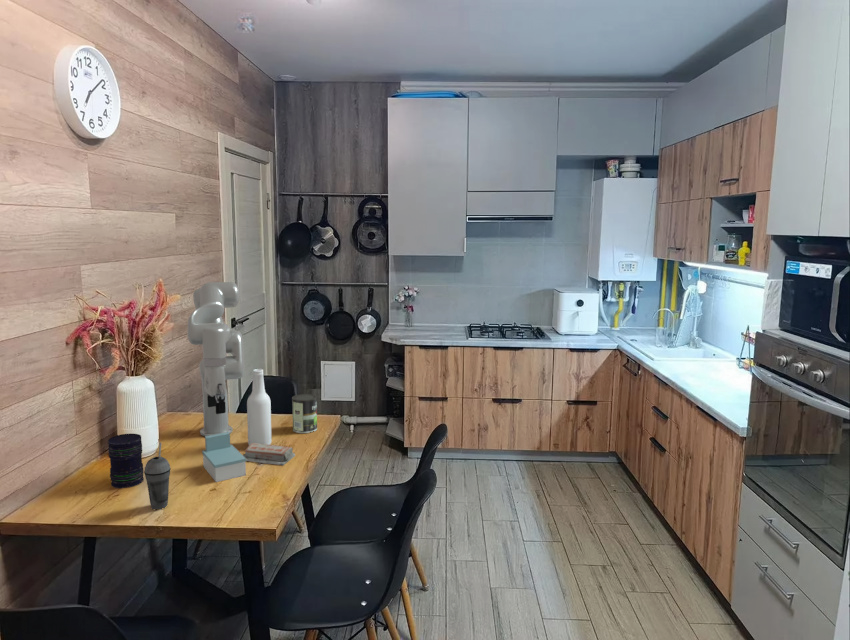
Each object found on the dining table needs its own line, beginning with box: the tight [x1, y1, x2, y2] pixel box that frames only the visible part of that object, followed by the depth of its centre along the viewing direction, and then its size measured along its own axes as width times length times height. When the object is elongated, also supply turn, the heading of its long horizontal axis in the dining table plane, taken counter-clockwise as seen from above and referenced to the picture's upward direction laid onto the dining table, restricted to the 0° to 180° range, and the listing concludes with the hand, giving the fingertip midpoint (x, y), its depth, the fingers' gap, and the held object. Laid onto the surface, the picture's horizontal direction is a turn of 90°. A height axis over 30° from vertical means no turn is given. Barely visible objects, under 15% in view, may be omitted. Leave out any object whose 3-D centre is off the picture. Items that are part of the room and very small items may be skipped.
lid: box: [201, 432, 247, 468], centre depth 200 cm, size 15×10×6 cm
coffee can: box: [291, 393, 318, 434], centre depth 244 cm, size 10×10×14 cm
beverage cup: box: [143, 442, 172, 511], centre depth 174 cm, size 7×7×20 cm
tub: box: [202, 454, 247, 483], centre depth 201 cm, size 15×10×5 cm, turn 36°
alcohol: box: [246, 368, 272, 446], centre depth 224 cm, size 9×9×30 cm
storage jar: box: [107, 433, 145, 489], centre depth 190 cm, size 10×10×15 cm
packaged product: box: [242, 443, 296, 466], centre depth 213 cm, size 18×5×10 cm
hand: (216, 409), depth 203 cm, fingers open, 9 cm apart
